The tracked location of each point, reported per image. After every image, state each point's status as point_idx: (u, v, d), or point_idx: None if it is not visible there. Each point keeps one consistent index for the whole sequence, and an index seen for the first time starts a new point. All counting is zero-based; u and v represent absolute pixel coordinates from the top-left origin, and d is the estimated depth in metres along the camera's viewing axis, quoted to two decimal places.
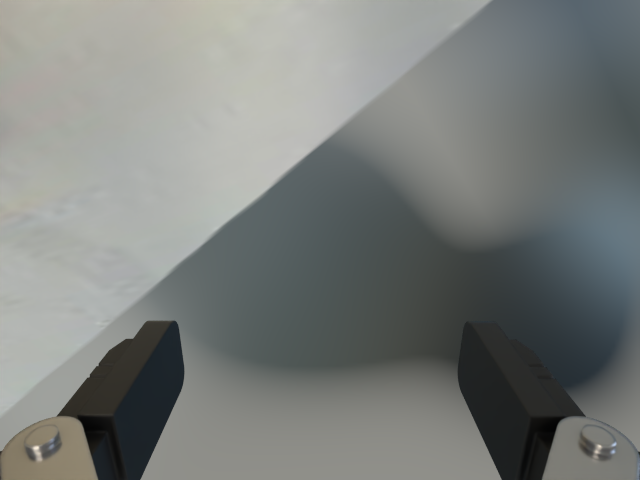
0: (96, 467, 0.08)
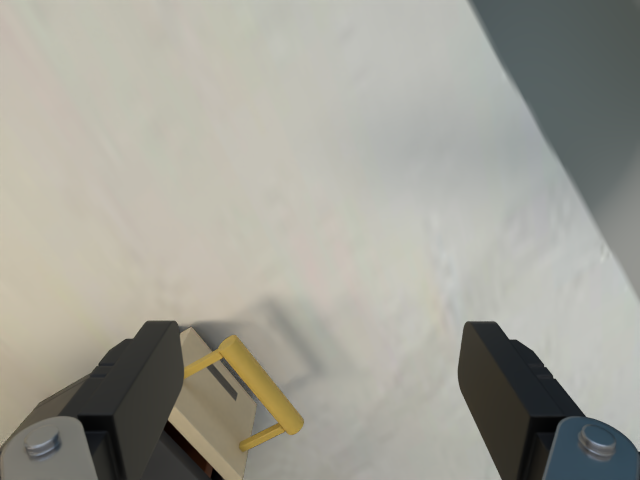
0: (96, 467, 0.08)
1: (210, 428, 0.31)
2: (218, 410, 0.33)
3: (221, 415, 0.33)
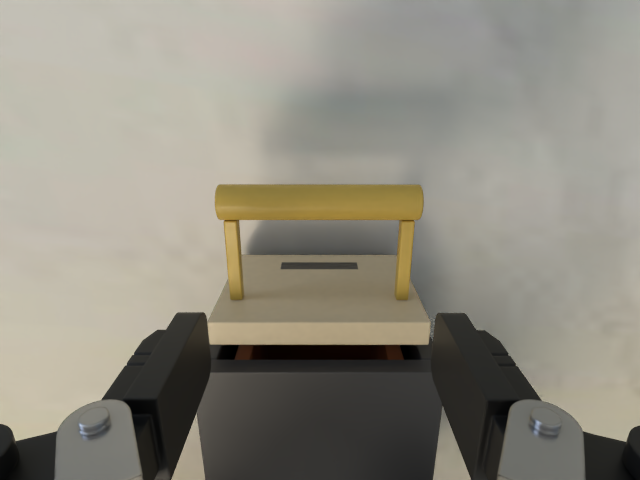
0: (142, 448, 0.08)
1: (328, 309, 0.19)
2: (331, 289, 0.21)
3: (340, 290, 0.21)
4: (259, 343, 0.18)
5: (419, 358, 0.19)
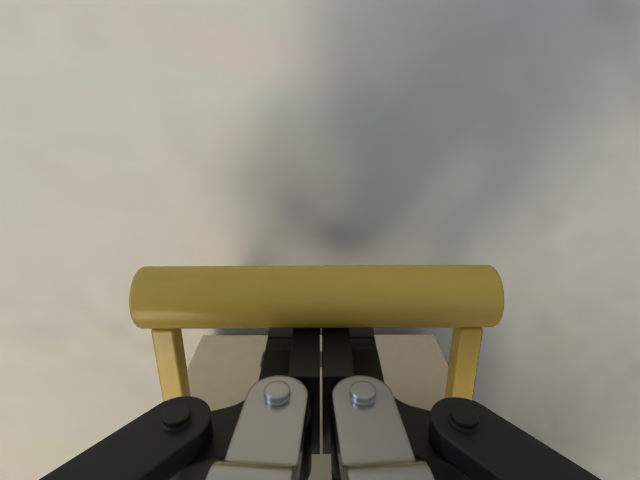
0: None
1: None
2: None
3: None
4: None
5: None
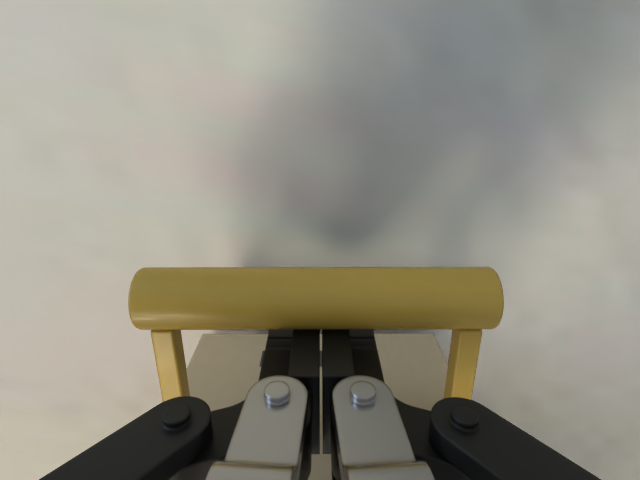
0: None
1: None
2: None
3: None
4: None
5: None
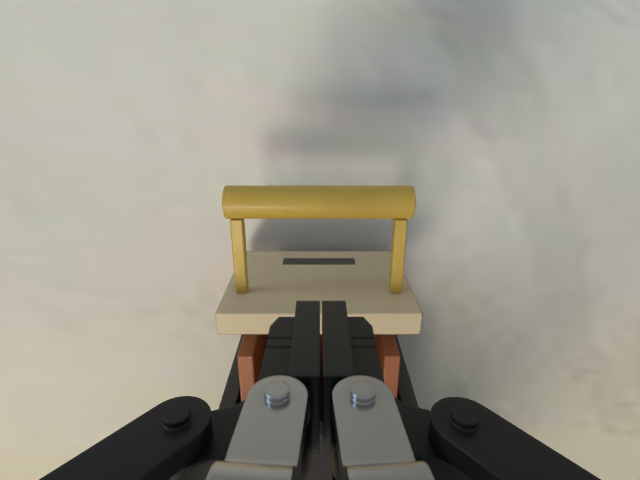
0: (311, 421, 0.09)
1: None
2: (330, 282, 0.23)
3: (339, 284, 0.22)
4: (263, 333, 0.20)
5: None
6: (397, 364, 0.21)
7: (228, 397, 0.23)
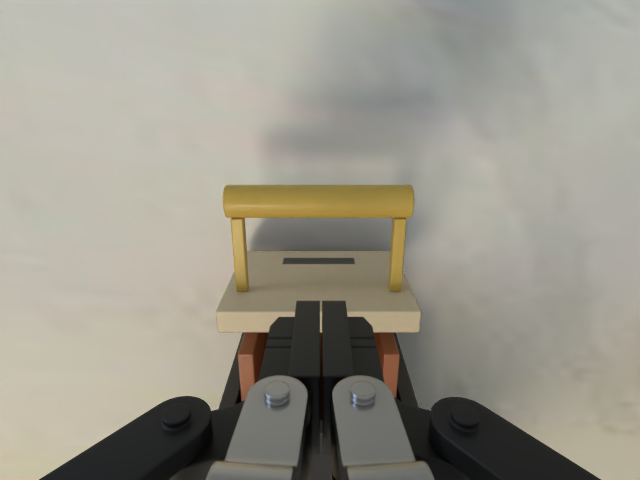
0: (311, 421, 0.09)
1: (327, 300, 0.21)
2: (330, 282, 0.23)
3: (338, 283, 0.23)
4: (263, 331, 0.20)
5: None
6: (396, 362, 0.21)
7: (228, 396, 0.24)
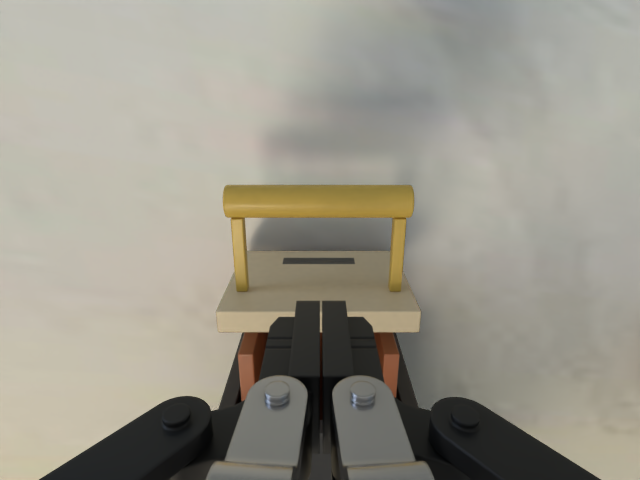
0: (311, 421, 0.09)
1: (327, 300, 0.21)
2: (330, 281, 0.23)
3: (338, 283, 0.23)
4: (263, 331, 0.20)
5: None
6: (396, 362, 0.21)
7: (228, 396, 0.24)
